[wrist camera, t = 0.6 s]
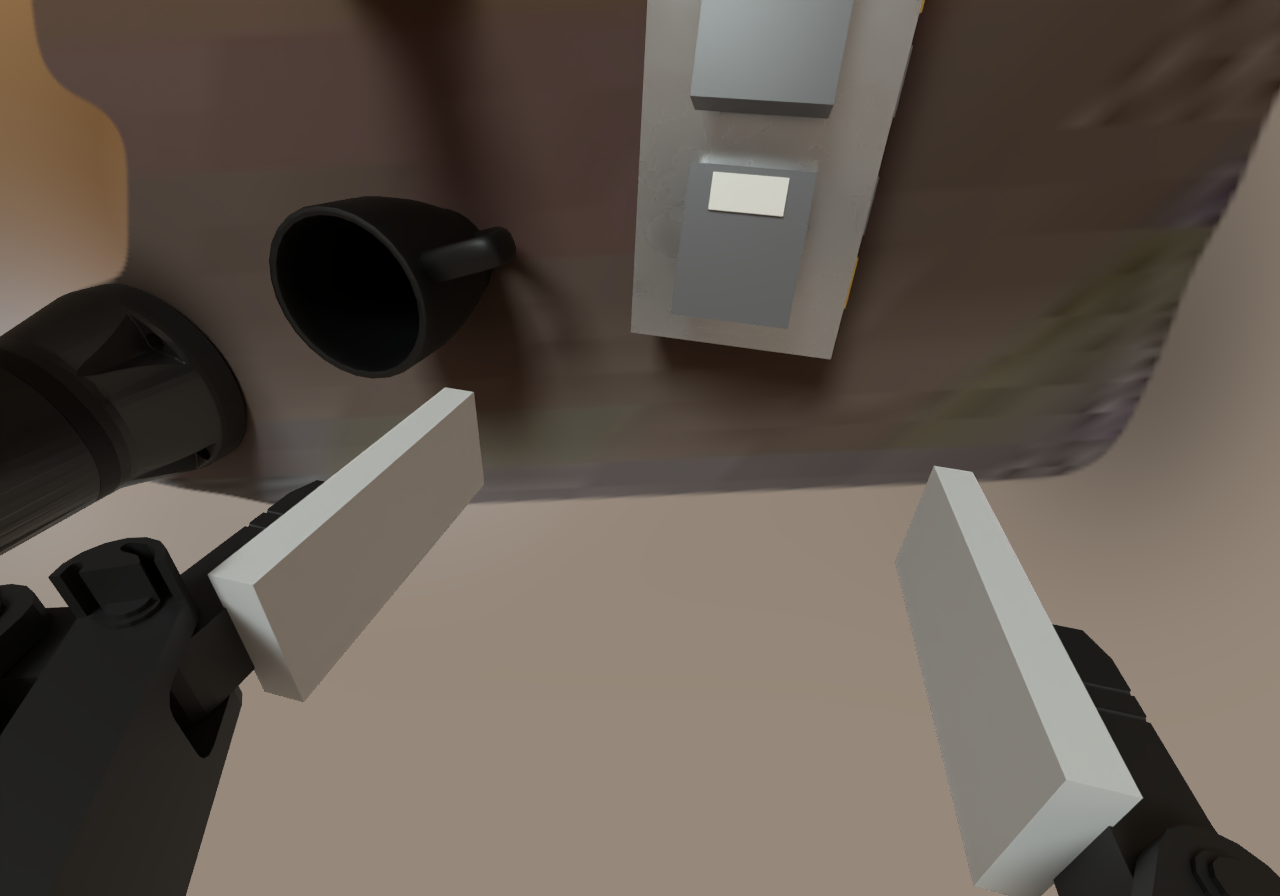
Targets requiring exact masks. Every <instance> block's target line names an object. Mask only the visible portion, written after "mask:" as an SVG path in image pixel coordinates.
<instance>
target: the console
mask: <svg viewBox="0 0 1280 896" xmlns="http://www.w3.org/2000/svg"><path fill="white" fill-rule="evenodd" d="M701 2H702V0H648V1H647V21H646V41H645V61H644V81H643V101H642V121H641V141H640V161H639V181H638V201H637V221H636V241H635V260H634V280H633V300H632V320H631V332H632V333H639V334H647V335H654V336H662V337H669V338H676V339H684V340H691V341H698V342H706V343H713V344H720V345H728V346H735V347H742V348H750V349H757V350H765V351H772V352H779V353H787V354H794V355H801V356H809V357H816V358H823V359H831V356H832V352H833V349H834V345H835V341H836V337H837V333H838V329H839V325H840V321H841V317H842V313H843V309H845V308H846V304H847V301H848V297H849V293H850V289H851V285H852V281H853V277H854V273H855V270H856V266H857V262H858V256H857V255H858V251H859V247H860V243H861V239H862V235H865V231H866V227H867V223H868V219H869V215H870V211H871V207H872V204H873V200H874V196H875V192H876V188H877V184H878V180H879V176H878V173H879V169H880V165H881V161H882V157H883V153H884V149H885V145H886V141H887V138H888V134H889V130H890V126H891V122H892V118H895V114H896V110H897V106H898V103H899V99H900V95H901V91H902V87H903V83H904V79H905V75H906V72H907V68H908V64H909V60H910V56H911V52H912V48H913V45H911V44H912V40H913V36H914V32H915V28H916V24H917V20H918V16H919V15H920V14H921V13H922V9H923V6H924V2H925V0H854V1H853V6H852V12H851V17H850V22H849V27H848V33H847V38H846V43H845V48H844V54H843V59H842V64H841V69H840V75H839V80H838V85H837V90H836V96H835V101H834V105H833V108H832V110H831V113H830V115H829V118H828V119H825V118H810V117H794V116H779V115H764V114H749V113H734V112H719V111H704V110H695V109H694V106H693V103H692V100H691V97H690V92H691V84H692V75H693V67H694V59H695V51H696V43H697V35H698V27H699V19H700V10H701ZM690 162H696V163H709V164H721V165H733V166H745V167H757V168H769V169H782V170H794V171H806V172H817V176H816V182H815V187H814V192H813V198H812V203H811V208H810V213H809V219H808V224H807V229H806V235H805V240H804V245H803V251H802V256H801V261H800V266H799V272H798V277H797V282H796V288H795V293H794V298H793V303H792V309H791V314H790V319H789V325H788V329H783V328H776V327H768V326H760V325H752V324H745V323H737V322H729V321H721V320H713V319H706V318H698V317H690V316H682V315H675V314H671V308H672V300H673V292H674V284H675V277H676V269H677V261H678V253H679V245H680V237H681V229H682V221H683V214H684V206H685V198H686V190H687V182H688V174H689V166H690Z"/></svg>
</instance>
